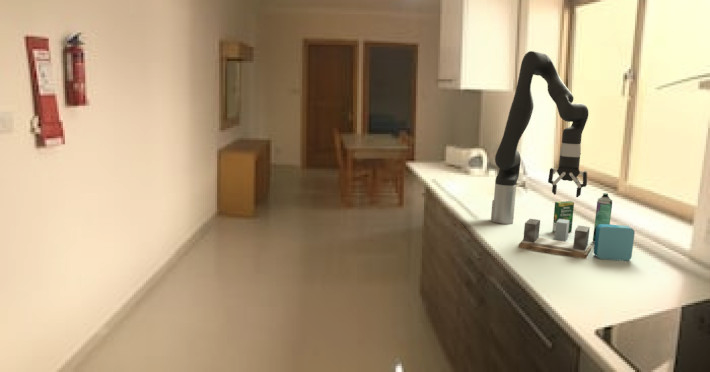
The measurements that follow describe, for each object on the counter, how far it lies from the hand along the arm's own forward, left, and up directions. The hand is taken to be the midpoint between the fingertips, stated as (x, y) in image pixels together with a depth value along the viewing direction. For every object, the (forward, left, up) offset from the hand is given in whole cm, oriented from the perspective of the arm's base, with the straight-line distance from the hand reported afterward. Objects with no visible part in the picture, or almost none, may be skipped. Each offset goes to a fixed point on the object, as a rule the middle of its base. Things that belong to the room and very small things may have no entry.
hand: (566, 195), depth 230 cm
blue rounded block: (+20, -15, -19) cm, 31 cm away
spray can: (+14, +6, -19) cm, 24 cm away
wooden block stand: (0, -15, -18) cm, 24 cm away
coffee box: (-2, +15, -19) cm, 24 cm away
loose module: (0, 0, -18) cm, 18 cm away
